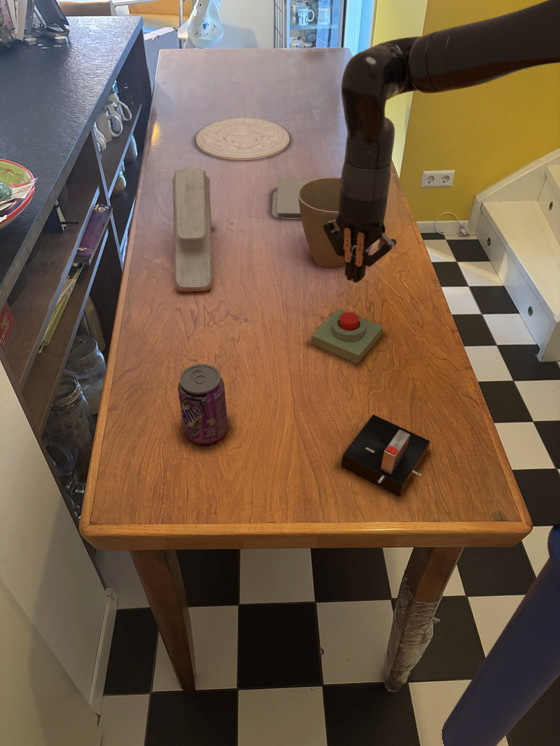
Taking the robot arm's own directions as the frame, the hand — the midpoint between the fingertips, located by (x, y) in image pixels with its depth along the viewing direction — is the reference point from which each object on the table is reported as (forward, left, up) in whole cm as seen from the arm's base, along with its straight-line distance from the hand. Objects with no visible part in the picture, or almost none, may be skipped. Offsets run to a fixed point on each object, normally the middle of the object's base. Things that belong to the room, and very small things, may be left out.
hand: (354, 279), depth 106 cm
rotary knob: (-21, +24, -11) cm, 34 cm away
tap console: (-20, +23, -14) cm, 33 cm away
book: (+32, -42, -14) cm, 55 cm away
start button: (0, 0, -10) cm, 10 cm away
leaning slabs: (+42, -6, -14) cm, 45 cm away
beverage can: (+8, +33, -14) cm, 37 cm away
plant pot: (+17, -22, -14) cm, 31 cm away
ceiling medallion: (+71, -63, -14) cm, 96 cm away
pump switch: (0, 0, -14) cm, 14 cm away
